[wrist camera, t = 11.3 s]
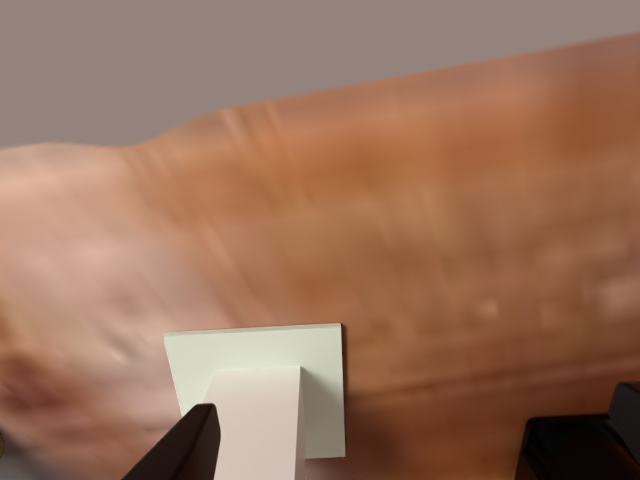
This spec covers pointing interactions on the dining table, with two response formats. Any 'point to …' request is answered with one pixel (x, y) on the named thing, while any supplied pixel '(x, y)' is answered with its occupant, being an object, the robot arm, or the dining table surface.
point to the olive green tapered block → (1, 445)
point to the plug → (259, 423)
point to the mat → (263, 352)
